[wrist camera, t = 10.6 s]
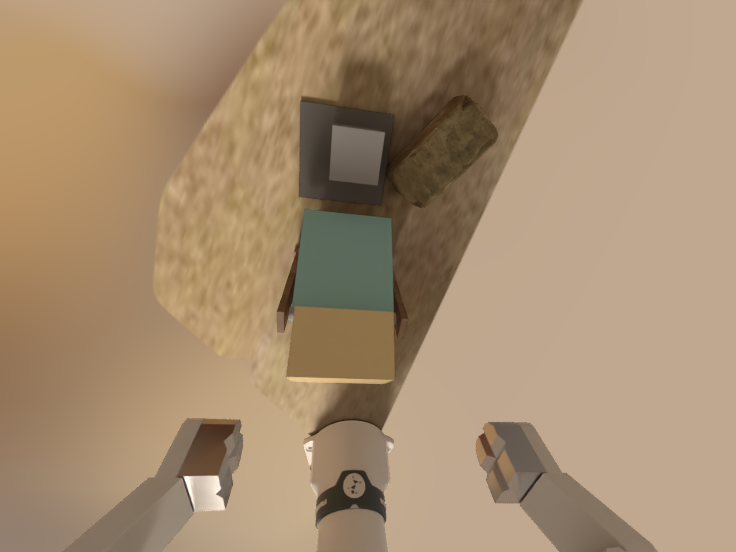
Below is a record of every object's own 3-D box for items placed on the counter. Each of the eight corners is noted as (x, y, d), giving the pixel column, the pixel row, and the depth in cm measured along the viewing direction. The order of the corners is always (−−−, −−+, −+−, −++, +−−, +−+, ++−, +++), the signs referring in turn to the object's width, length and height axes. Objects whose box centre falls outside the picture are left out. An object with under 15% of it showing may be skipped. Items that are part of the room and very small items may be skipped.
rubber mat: (380, 204, 37) (380, 205, 36) (299, 196, 36) (299, 196, 35) (393, 115, 32) (394, 115, 32) (301, 101, 31) (300, 101, 30)
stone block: (485, 132, 34) (505, 135, 29) (411, 204, 37) (420, 217, 33) (454, 91, 32) (472, 88, 27) (380, 172, 35) (385, 181, 31)
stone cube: (377, 185, 30) (373, 176, 35) (385, 132, 28) (379, 129, 32) (329, 179, 30) (330, 171, 34) (332, 125, 27) (333, 123, 32)
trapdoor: (390, 384, 29) (402, 380, 25) (284, 381, 28) (277, 376, 24) (387, 232, 37) (397, 207, 32) (303, 224, 35) (301, 197, 31)
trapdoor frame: (382, 299, 44) (398, 374, 32) (294, 293, 42) (274, 370, 30) (390, 254, 40) (412, 319, 28) (295, 246, 39) (272, 311, 26)
